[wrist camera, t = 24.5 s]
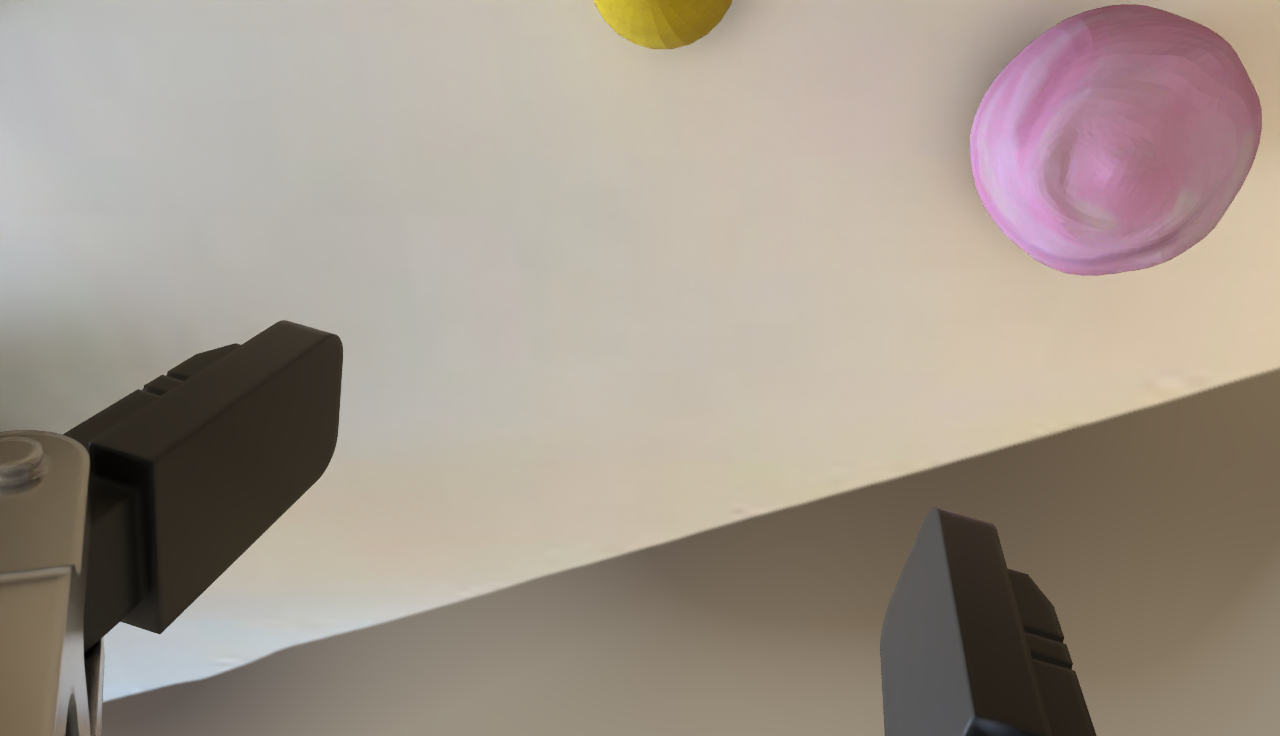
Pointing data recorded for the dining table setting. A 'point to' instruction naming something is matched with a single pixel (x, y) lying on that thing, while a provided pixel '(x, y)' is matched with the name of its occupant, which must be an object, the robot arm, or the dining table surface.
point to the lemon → (662, 20)
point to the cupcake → (1115, 140)
